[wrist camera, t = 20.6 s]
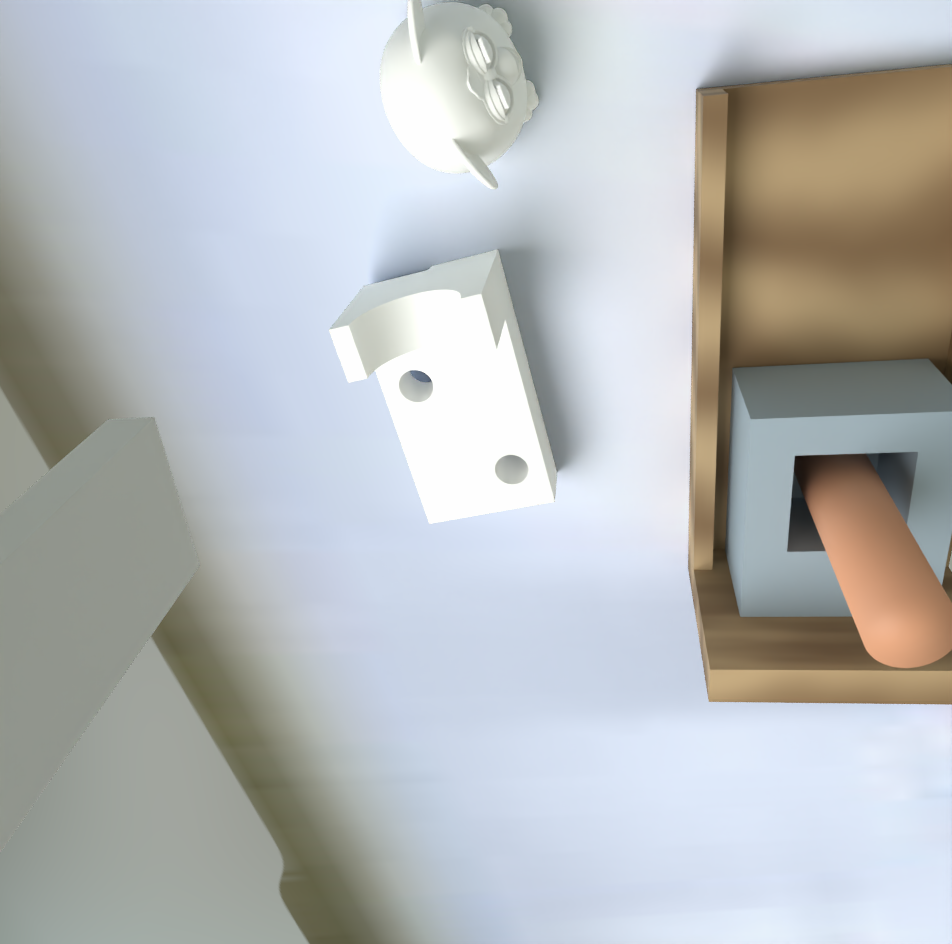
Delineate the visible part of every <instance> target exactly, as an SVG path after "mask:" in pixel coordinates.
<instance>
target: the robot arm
mask: <svg viewBox="0 0 952 944" xmlns="http://www.w3.org/2000/svg"><path fill="white" fill-rule="evenodd" d="M199 566H200V563H199V560H198V557H197V554H196V550H195V547H194V544H193V541H192V538H191V534H190V531H189V528H188V525H187V521H186V518H185V515H184V512H183V508H182V505H181V502H180V499H179V495H178V492H177V489H176V486H175V483H174V479H173V476H172V473H171V470H170V466H169V463H168V460H167V457H166V453H165V450H164V447H163V444H162V441H161V437H160V434H159V431H158V428H157V424H156V421H155V418H154V417H147V418H125V419H108V420H107V421H106V422H105V423H103V424H102V425H101V426H100V427H99V428H98V429H97V430H95V431H94V432H93V433H92V434H91V435H90V436H89V437H87V438H86V439H85V440H84V441H83V442H82V443H80V444H79V445H78V446H77V447H76V448H75V449H74V450H72V451H71V452H70V453H69V454H68V455H67V456H66V457H64V458H63V459H62V460H61V461H60V462H59V463H58V464H56V465H55V466H54V467H53V468H52V469H51V470H49V471H48V472H47V473H46V474H45V475H44V476H43V477H42V478H40V479H39V480H38V481H37V482H36V483H35V484H33V485H32V486H31V487H30V488H29V489H28V490H27V491H25V492H24V493H23V494H22V495H21V496H20V497H18V499H16V500H15V501H14V502H13V503H12V504H11V505H9V506H8V507H7V508H6V509H5V510H4V511H2V512H1V513H0V852H1V851H2V849H3V848H4V847H5V845H6V844H7V842H8V841H9V839H10V838H11V836H12V835H13V833H14V832H15V831H16V829H17V828H18V826H19V825H20V824H21V822H22V821H23V819H24V818H25V816H26V815H27V813H28V812H29V810H30V809H31V808H32V806H33V805H34V803H35V802H36V801H37V799H38V798H39V796H40V795H41V793H42V792H43V790H44V789H45V788H46V786H47V785H48V783H49V782H50V780H51V779H52V777H53V776H54V774H55V773H56V772H57V770H58V769H59V767H60V766H61V764H62V763H63V762H64V760H65V759H66V757H67V756H68V754H69V753H70V751H71V750H72V749H73V747H74V746H75V744H76V743H77V741H78V740H79V739H80V737H81V736H82V734H83V733H84V732H85V730H86V729H87V727H88V726H89V724H90V723H91V721H92V720H93V719H94V717H95V716H96V714H97V713H98V711H99V710H100V709H101V707H102V705H103V704H104V703H105V701H106V700H107V698H108V697H109V696H110V694H111V693H112V691H113V690H114V688H115V687H116V685H117V684H118V683H119V681H120V680H121V678H122V677H123V675H124V674H125V673H126V671H127V670H128V668H129V667H130V665H131V664H132V662H133V661H134V659H135V658H136V657H137V655H138V654H139V652H140V651H141V649H142V648H143V647H144V645H145V644H146V642H147V641H148V639H149V638H150V637H151V635H152V634H153V632H154V631H155V629H156V628H157V627H158V625H159V624H160V622H161V621H162V619H163V618H164V616H165V615H166V614H167V612H168V611H169V609H170V608H171V606H172V605H173V604H174V602H175V601H176V599H177V598H178V596H179V595H180V593H181V592H182V591H183V589H184V588H185V586H186V585H187V583H188V582H189V581H190V579H191V578H192V576H193V575H194V573H195V572H196V570H197V569H198V568H199Z"/></svg>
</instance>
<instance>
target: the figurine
mask: <svg viewBox="0 0 952 944" xmlns="http://www.w3.org/2000/svg"><path fill="white" fill-rule="evenodd" d="M407 14H408V18H406V19H405V20H404V21H403V22H402V23H401V24H400V25H399V26H398V27H397V28H396V29H395V31H394V32H393V34H392V35H391V36H390V38H389V40H388V42H387V44H386V46H385V49H384V52H383V55H382V60H381V65H380V89H381V96H382V101H383V105H384V108H385V112H386V115H387V117H388V120H389V122H390V124H391V126H392V128H393V130H394V132H395V133H396V135H397V137H398V138H399V140H400V141H401V142H402V144H403V145H404V146H405V147H406V149H407V150H408V151H409V152H410V153H411V154H412V155H413V156H414V157H416V158H417V159H418V160H419V161H421V162H422V163H423V164H425V165H427V166H428V167H430V168H433V169H435V170H438V171H441V172H446V173H454V174H459V173H468V172H471V173H472V174H473V175H474V176H475V177H476V178H477V179H478V180H479V181H480V182H482V183H483V184H484V185H486V186H487V187H489V188H491V189H497V188H498V184H497V181H496V179H495V178H494V176H493V174H492V173H491V171H490V170H489V168H488V167H487V166H488V165H490V164H491V163H493V162H494V161H496V160H497V159H498V158H500V157H501V156H502V155H503V154H504V153H505V152H506V151H507V150H508V149H509V148H510V147H511V146H512V144H513V143H514V141H515V140H516V138H517V136H518V134H519V133H520V131H521V128H522V126H523V123H525V122H527V121H529V120H530V119H531V117H532V113H533V112H532V110H534V109H535V108H536V107H537V106H538V103H539V98H538V95H537V94H536V93H535V87H534V85H533V83H532V82H531V81H529V80H526V79H525V74H524V70H523V62H522V59H521V56H520V55H519V53H518V52H517V50H516V48H515V46H514V44H513V43H512V41H511V39H510V38H509V37H510V36H511V34H512V26H511V24H510V22H509V21H508V16H507V13H506V12H505V10H504V9H502V8H495V9H493V8H492V7H491V6H490V5H488V4H483V5H481V6H479V7H478V8H476V7H474V6H471V5H468V4H464V3H458V2H444V3H438V4H433V5H430V6H427V7H425V8H423V9H422V4H421V0H408V6H407Z"/></svg>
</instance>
